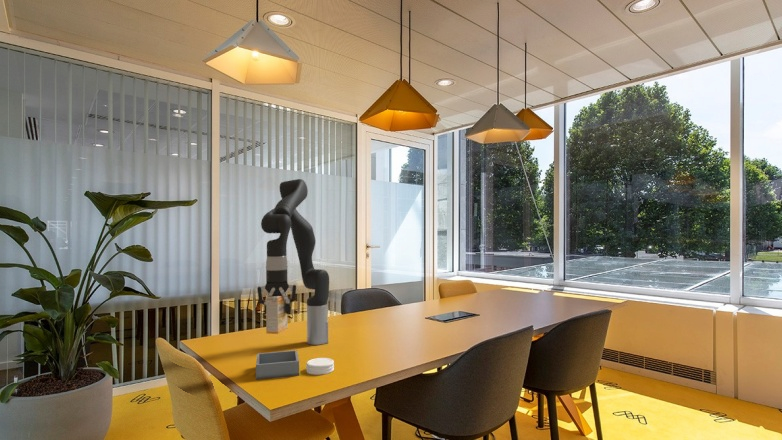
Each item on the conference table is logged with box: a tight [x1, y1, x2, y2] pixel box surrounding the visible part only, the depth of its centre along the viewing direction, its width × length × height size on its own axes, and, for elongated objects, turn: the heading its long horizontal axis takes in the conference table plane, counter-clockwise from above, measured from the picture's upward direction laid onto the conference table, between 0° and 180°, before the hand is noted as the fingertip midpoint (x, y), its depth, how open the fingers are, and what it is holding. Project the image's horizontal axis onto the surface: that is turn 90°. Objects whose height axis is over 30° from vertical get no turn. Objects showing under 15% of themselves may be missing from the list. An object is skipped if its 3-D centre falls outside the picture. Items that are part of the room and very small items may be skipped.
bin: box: [255, 349, 300, 381], centre depth 158 cm, size 15×15×5 cm
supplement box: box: [265, 293, 288, 335], centre depth 159 cm, size 8×5×13 cm, turn 169°
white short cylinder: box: [305, 357, 335, 376], centre depth 158 cm, size 10×10×4 cm
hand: (277, 314), depth 159 cm, fingers closed on supplement box, 6 cm apart
